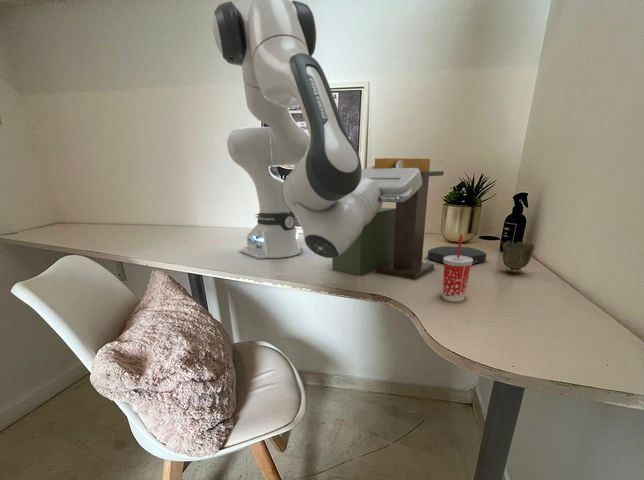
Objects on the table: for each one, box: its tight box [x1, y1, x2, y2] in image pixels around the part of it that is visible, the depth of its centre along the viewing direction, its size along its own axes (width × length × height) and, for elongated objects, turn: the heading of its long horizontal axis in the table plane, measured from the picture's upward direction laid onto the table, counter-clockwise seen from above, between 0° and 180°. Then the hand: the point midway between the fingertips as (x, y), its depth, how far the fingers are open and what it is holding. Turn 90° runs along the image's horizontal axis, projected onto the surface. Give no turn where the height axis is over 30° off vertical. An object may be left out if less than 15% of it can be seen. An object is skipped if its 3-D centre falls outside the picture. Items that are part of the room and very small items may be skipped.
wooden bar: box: [374, 157, 431, 172], centre depth 81 cm, size 3×22×3 cm, turn 142°
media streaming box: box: [427, 245, 487, 265], centre depth 105 cm, size 15×15×3 cm
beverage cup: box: [442, 234, 473, 303], centre depth 72 cm, size 6×6×14 cm
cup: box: [502, 240, 536, 275], centre depth 90 cm, size 8×7×8 cm
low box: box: [331, 207, 396, 276], centre depth 98 cm, size 10×18×16 cm, turn 142°
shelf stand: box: [376, 170, 444, 281], centre depth 90 cm, size 12×12×26 cm
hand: (391, 163), depth 77 cm, fingers closed on wooden bar, 3 cm apart
